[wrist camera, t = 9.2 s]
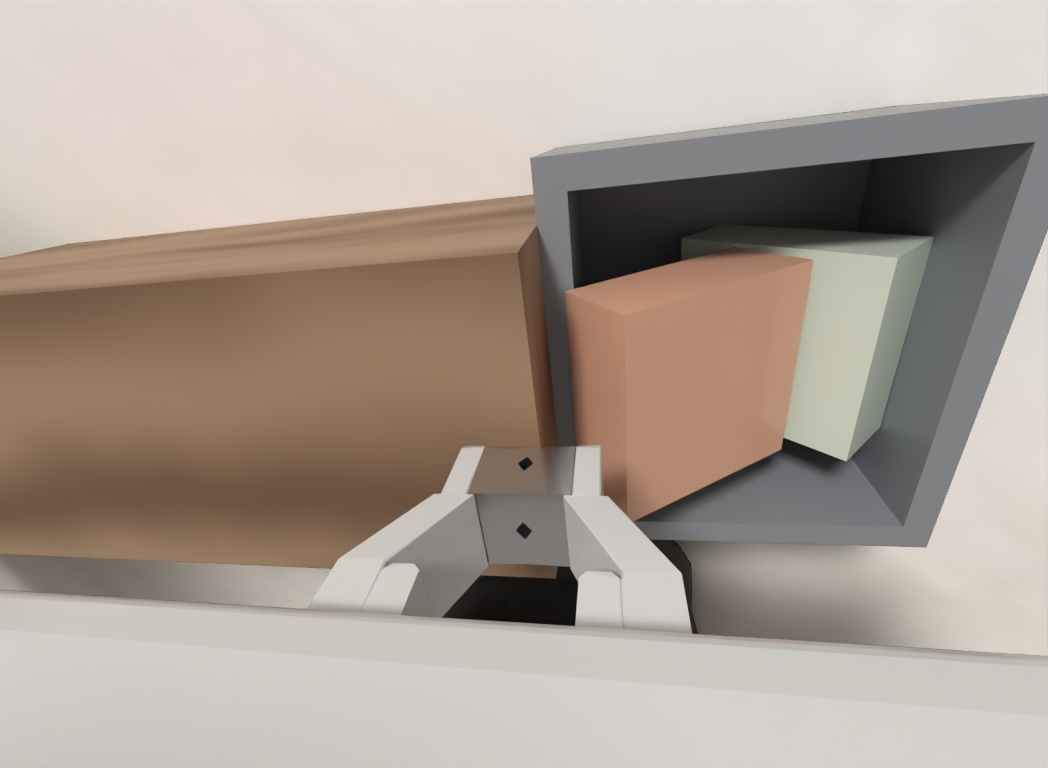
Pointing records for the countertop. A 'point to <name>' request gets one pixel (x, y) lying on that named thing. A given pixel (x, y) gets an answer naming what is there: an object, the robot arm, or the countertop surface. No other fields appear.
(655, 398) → the tile terracotta
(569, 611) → the casserole
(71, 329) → the brown wooden block
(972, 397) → the box
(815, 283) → the tile sage
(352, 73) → the countertop surface
